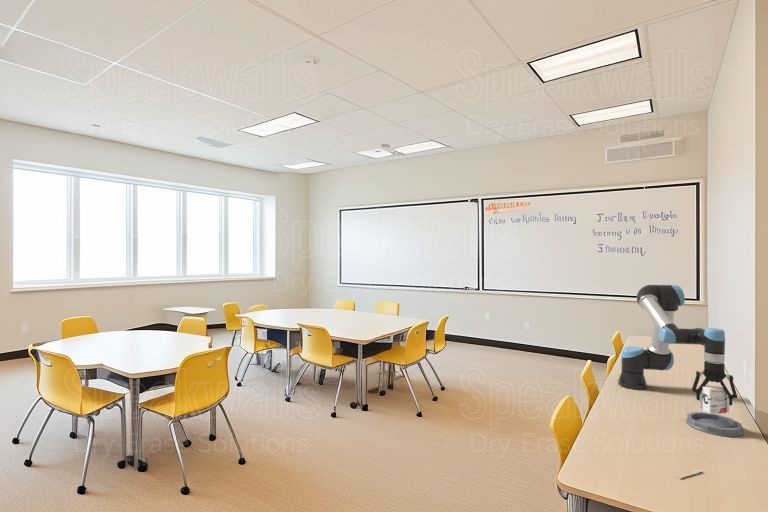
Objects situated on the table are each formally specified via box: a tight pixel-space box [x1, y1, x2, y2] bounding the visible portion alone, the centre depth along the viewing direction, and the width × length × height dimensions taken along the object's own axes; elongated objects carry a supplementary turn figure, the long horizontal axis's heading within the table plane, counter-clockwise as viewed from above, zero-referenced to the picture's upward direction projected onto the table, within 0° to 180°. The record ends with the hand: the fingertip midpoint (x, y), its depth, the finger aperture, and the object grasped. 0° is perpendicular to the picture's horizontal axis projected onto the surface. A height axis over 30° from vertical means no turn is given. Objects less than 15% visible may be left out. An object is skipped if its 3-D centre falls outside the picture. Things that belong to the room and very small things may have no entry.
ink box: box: [701, 385, 728, 415], centre depth 196 cm, size 8×5×12 cm, turn 96°
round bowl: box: [685, 411, 744, 438], centre depth 197 cm, size 21×21×3 cm
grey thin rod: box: [691, 469, 703, 473], centre depth 155 cm, size 12×1×1 cm, turn 111°
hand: (713, 409), depth 196 cm, fingers closed on ink box, 9 cm apart
